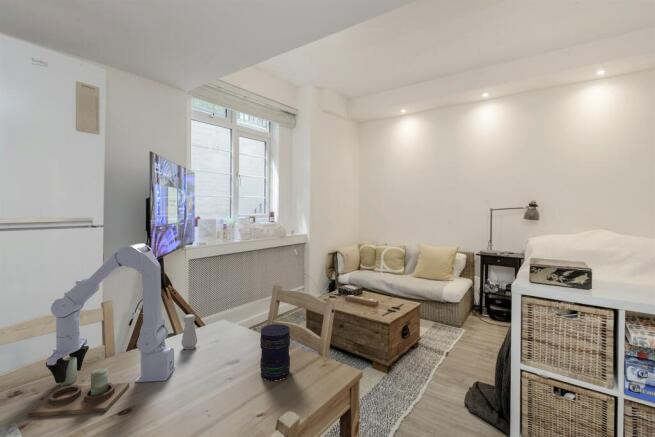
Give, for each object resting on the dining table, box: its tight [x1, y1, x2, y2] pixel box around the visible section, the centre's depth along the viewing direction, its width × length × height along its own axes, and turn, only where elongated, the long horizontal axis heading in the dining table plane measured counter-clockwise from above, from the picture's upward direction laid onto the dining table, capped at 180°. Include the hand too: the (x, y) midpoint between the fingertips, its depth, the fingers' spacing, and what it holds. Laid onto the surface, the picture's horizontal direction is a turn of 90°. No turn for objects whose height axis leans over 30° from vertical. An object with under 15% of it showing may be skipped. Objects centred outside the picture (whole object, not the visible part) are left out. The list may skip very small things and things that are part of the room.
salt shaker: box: [181, 313, 198, 351], centre depth 121 cm, size 6×6×13 cm
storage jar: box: [259, 323, 291, 382], centre depth 102 cm, size 10×10×15 cm
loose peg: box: [60, 356, 78, 386], centre depth 96 cm, size 4×4×7 cm
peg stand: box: [27, 367, 130, 418], centre depth 87 cm, size 19×12×8 cm, turn 97°
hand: (68, 376), depth 97 cm, fingers open, 6 cm apart
